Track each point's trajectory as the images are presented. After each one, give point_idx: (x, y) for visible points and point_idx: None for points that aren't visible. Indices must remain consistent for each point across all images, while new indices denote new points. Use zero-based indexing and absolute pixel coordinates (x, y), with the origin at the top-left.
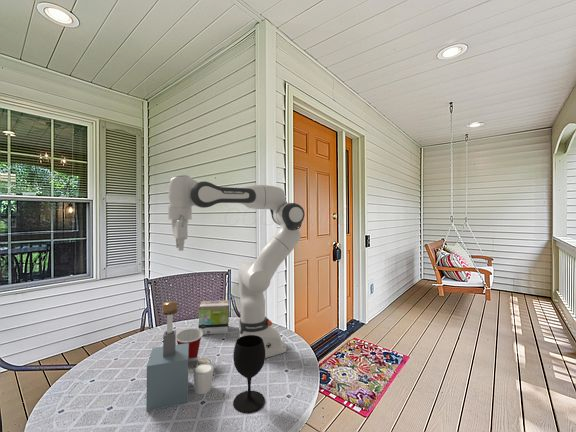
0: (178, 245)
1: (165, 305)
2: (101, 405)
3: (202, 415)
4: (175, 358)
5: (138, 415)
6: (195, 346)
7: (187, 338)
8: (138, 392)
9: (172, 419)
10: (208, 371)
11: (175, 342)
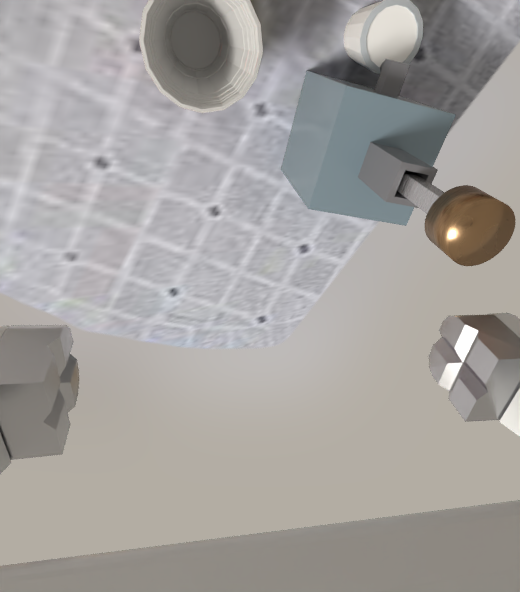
0: (61, 395)
1: (495, 254)
2: (285, 263)
3: (458, 69)
4: (421, 150)
5: None
6: (239, 24)
7: (154, 42)
8: (281, 199)
9: None
10: (418, 25)
11: (396, 153)
